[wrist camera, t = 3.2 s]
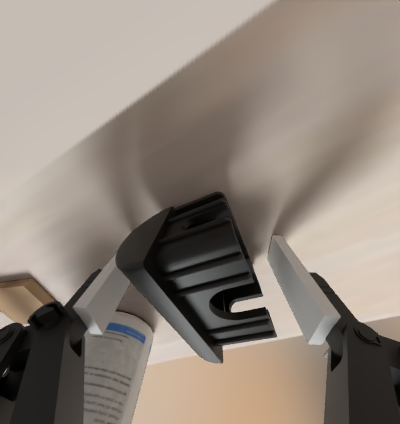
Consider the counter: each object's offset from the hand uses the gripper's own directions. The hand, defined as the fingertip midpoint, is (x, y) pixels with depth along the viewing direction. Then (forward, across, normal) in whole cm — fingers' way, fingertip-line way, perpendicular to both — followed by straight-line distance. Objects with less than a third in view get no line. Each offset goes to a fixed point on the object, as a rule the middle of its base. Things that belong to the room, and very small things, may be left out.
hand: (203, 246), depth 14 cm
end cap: (0, 0, 0) cm, 0 cm away
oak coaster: (0, -23, -9) cm, 25 cm away
